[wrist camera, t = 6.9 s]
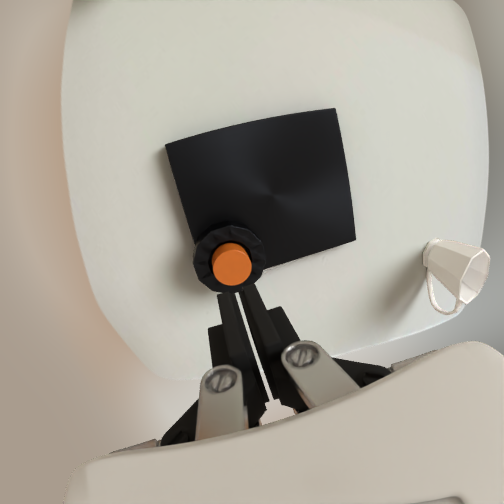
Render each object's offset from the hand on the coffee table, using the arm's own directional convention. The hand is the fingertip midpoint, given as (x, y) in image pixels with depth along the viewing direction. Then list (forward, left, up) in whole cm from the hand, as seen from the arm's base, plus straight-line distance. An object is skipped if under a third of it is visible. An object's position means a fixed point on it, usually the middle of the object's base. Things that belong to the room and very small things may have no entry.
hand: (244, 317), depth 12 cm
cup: (+25, -12, -14) cm, 31 cm away
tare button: (0, -2, -11) cm, 12 cm away
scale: (+5, +2, -14) cm, 15 cm away
